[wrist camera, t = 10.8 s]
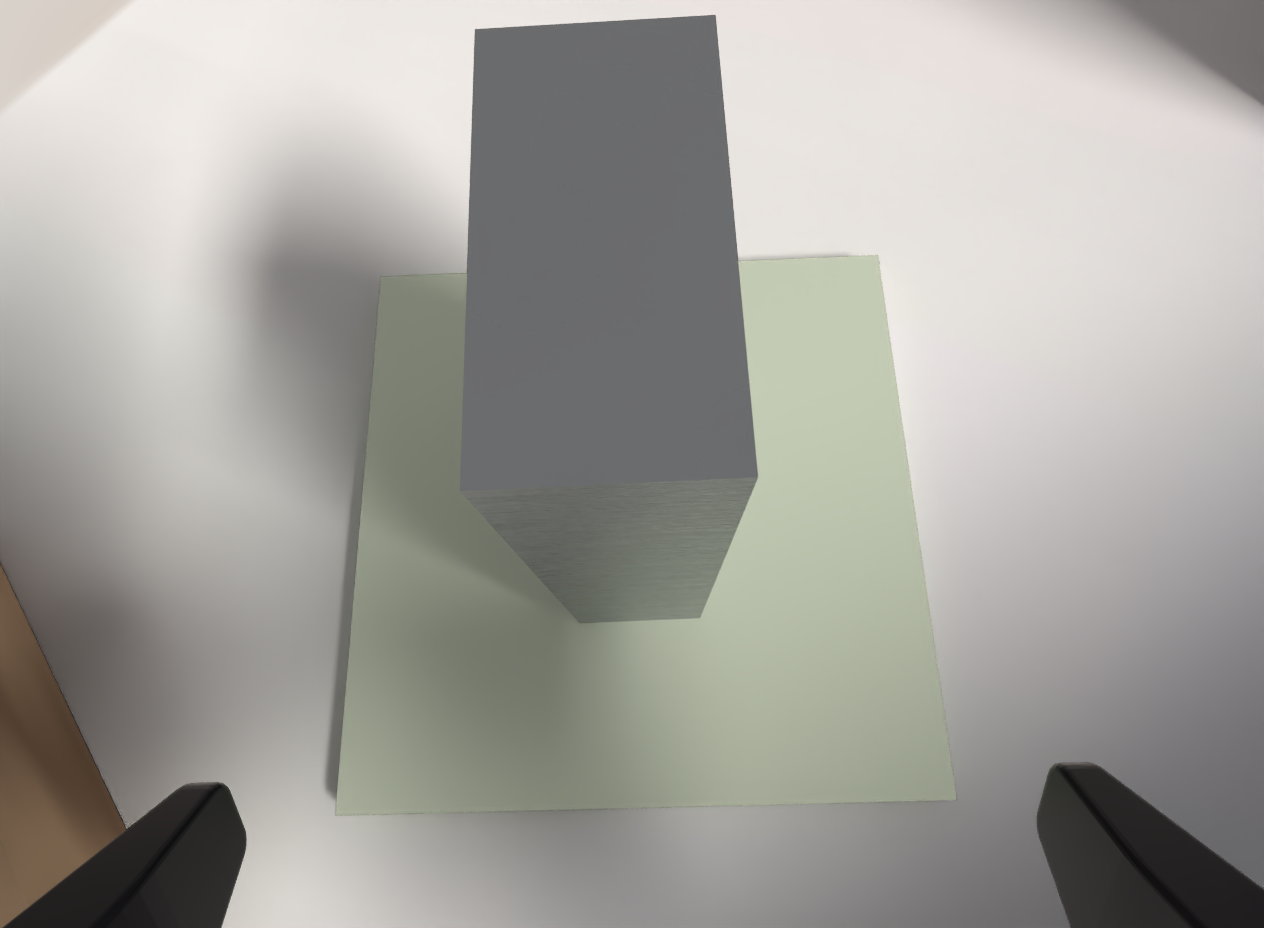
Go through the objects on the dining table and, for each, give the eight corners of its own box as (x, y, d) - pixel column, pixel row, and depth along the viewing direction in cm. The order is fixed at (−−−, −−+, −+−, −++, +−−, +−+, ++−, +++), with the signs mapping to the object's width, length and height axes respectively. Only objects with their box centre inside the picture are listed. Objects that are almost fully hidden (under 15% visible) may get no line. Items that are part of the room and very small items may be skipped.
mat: (945, 796, 15) (956, 800, 15) (347, 812, 16) (335, 816, 15) (871, 268, 19) (878, 255, 18) (388, 289, 19) (380, 276, 19)
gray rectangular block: (700, 618, 16) (758, 477, 6) (579, 623, 16) (460, 491, 6) (685, 395, 17) (715, 15, 8) (575, 400, 18) (475, 29, 8)
